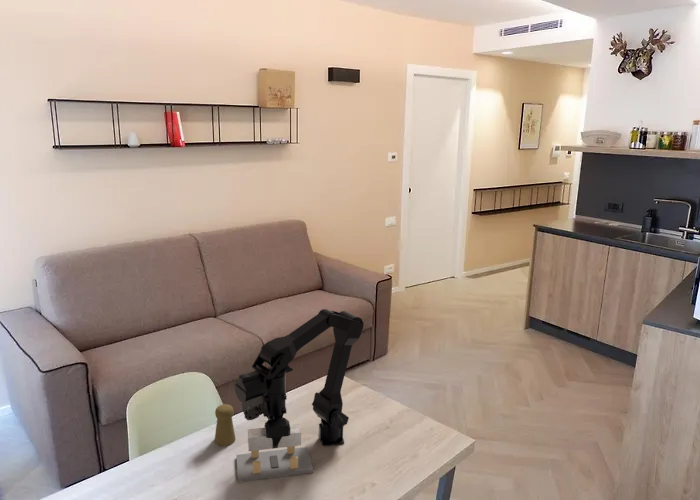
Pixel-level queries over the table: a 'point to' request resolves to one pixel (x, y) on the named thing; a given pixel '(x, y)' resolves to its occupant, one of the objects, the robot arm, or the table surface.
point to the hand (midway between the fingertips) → (274, 440)
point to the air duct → (260, 441)
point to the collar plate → (273, 463)
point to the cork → (224, 425)
